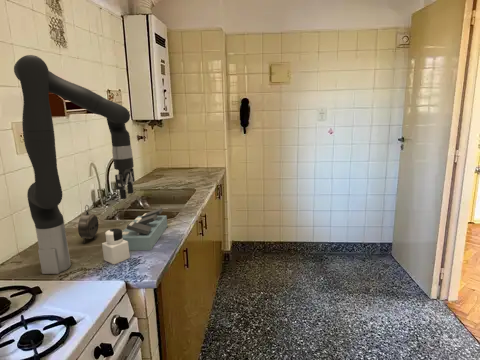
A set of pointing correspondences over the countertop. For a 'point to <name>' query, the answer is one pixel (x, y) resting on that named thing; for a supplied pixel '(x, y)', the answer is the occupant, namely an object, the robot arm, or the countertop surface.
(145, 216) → the switch
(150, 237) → the switch box
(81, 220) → the alarm clock
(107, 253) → the medicine bottle
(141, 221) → the switch
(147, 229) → the switch
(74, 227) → the countertop surface
